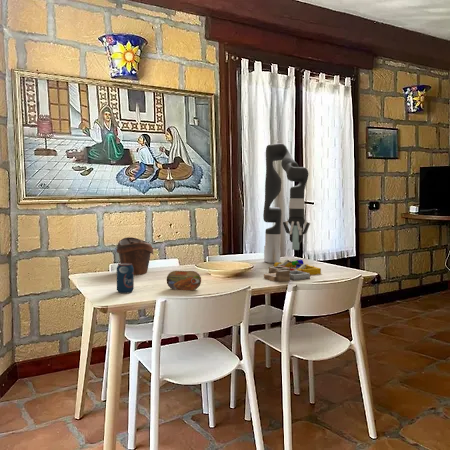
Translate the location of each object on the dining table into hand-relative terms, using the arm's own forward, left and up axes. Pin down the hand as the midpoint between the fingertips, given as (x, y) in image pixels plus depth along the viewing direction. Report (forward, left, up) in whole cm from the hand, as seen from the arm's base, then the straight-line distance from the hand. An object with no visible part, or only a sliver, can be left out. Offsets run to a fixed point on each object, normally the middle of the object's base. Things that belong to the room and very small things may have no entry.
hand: (296, 242), depth 227 cm
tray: (0, 0, -18) cm, 18 cm away
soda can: (-8, -85, -18) cm, 87 cm away
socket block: (-13, 0, -18) cm, 22 cm away
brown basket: (-49, -66, -18) cm, 84 cm away
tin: (-1, -61, -18) cm, 64 cm away
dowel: (0, 0, -4) cm, 4 cm away
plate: (-2, -11, -18) cm, 21 cm away
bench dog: (+4, -11, -18) cm, 21 cm away
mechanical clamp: (-13, +15, -19) cm, 27 cm away
